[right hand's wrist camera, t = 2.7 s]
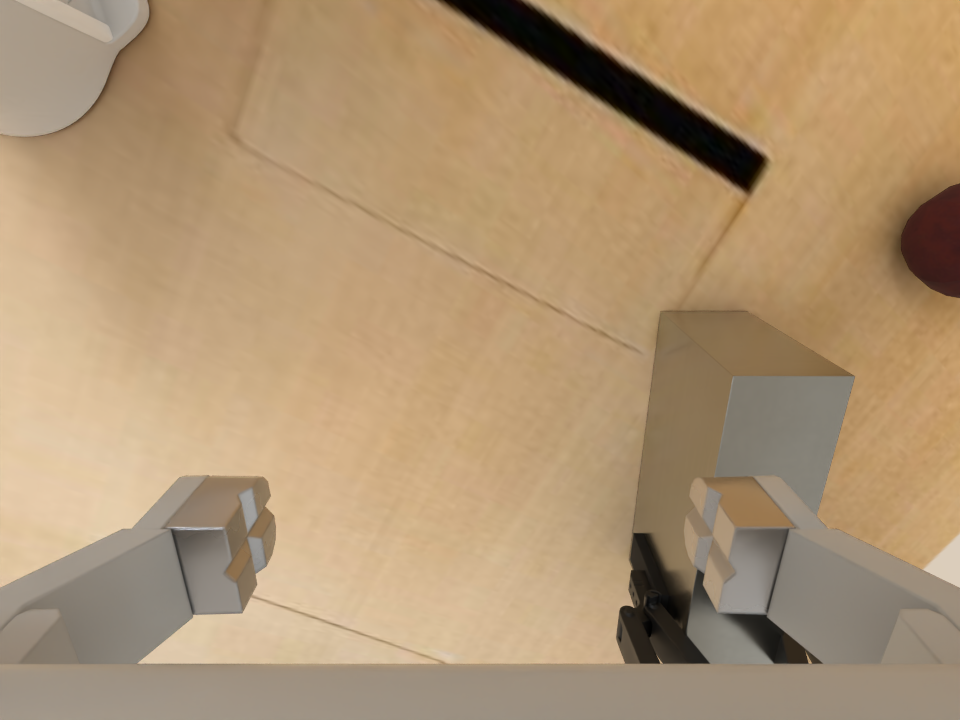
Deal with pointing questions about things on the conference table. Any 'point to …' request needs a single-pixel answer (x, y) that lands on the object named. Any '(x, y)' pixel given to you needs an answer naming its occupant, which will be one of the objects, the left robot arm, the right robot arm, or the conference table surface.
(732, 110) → the conference table surface
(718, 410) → the box
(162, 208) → the conference table surface
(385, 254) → the conference table surface
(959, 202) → the potato
